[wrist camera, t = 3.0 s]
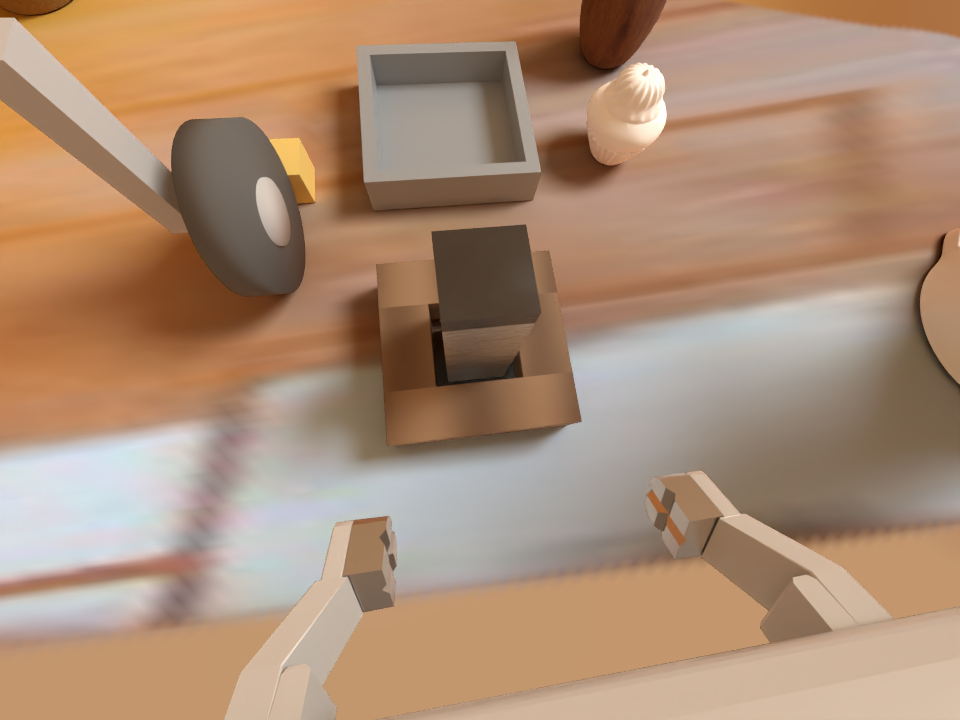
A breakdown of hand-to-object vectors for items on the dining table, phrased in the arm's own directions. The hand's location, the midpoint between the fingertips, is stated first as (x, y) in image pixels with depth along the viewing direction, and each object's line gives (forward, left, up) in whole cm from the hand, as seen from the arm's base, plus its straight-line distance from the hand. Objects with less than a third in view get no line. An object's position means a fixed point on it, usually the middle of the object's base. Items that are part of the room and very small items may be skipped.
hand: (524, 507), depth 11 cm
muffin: (-14, -26, -14) cm, 32 cm away
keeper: (0, -9, -14) cm, 16 cm away
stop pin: (0, -9, -14) cm, 16 cm away
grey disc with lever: (+14, -19, -14) cm, 28 cm away
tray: (0, -28, -14) cm, 31 cm away
